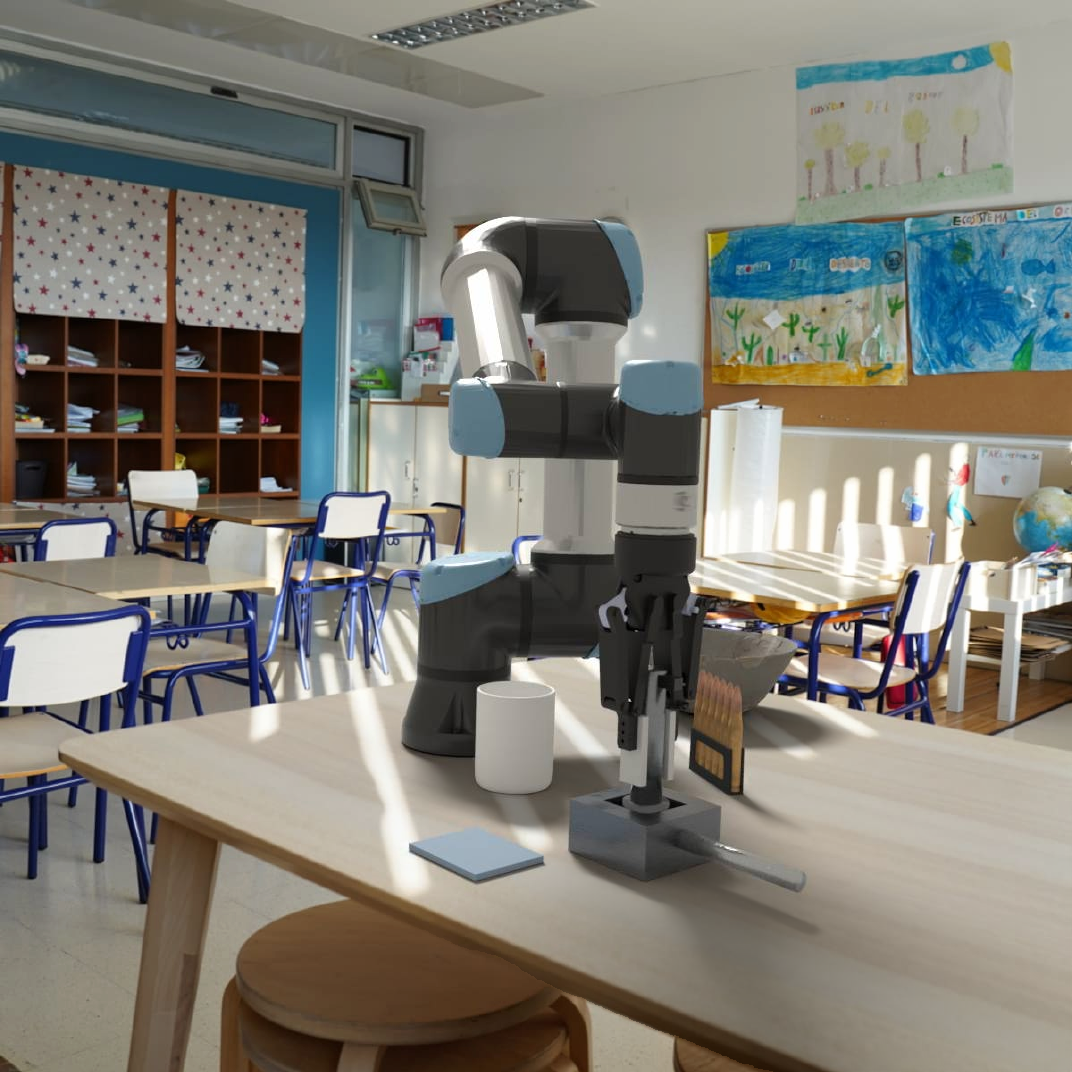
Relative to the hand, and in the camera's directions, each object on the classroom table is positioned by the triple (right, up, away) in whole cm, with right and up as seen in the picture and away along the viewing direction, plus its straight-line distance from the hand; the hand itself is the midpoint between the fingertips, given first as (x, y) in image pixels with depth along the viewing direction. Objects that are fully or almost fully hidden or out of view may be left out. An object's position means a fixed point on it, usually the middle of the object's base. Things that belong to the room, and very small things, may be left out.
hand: (646, 779), depth 120 cm
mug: (-14, -5, +24) cm, 28 cm away
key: (0, -3, 0) cm, 4 cm away
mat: (-16, -7, -1) cm, 17 cm away
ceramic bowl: (+15, -2, +60) cm, 62 cm away
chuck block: (+4, -8, -4) cm, 10 cm away
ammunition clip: (+10, -5, +26) cm, 28 cm away
